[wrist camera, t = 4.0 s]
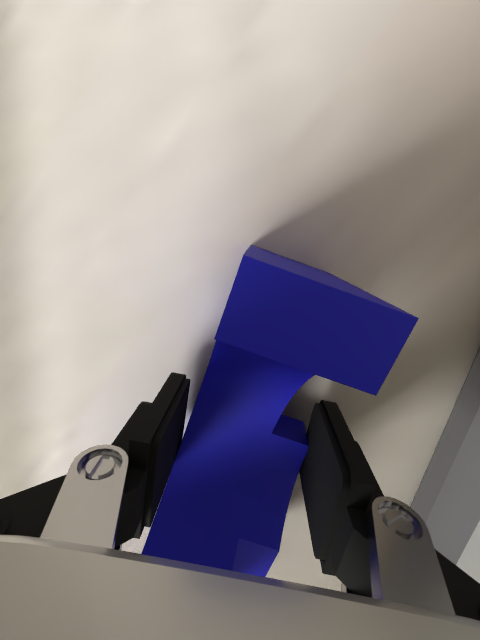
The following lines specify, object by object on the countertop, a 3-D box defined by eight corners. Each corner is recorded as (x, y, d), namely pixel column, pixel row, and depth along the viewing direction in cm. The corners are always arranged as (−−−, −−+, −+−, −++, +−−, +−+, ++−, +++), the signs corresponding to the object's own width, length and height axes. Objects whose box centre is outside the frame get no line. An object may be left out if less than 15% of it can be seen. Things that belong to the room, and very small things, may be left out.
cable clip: (254, 523, 14) (251, 728, 8) (163, 494, 14) (95, 682, 8) (368, 287, 11) (502, 348, 5) (251, 244, 10) (243, 255, 5)
